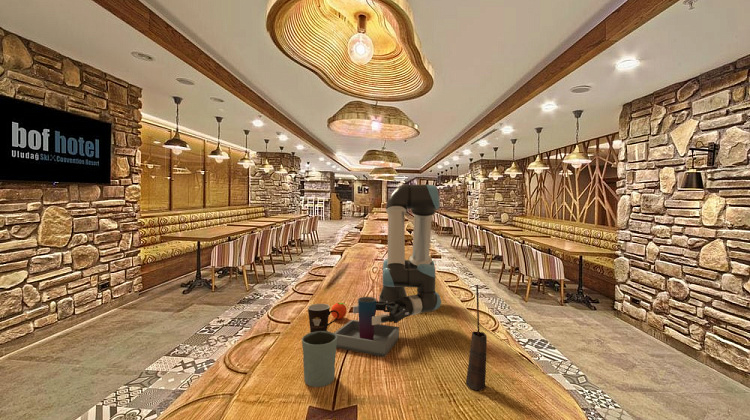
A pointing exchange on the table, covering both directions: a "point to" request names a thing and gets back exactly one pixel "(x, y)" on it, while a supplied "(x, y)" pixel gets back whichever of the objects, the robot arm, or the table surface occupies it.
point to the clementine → (339, 310)
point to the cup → (366, 317)
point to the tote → (378, 346)
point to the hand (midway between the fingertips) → (362, 315)
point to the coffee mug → (319, 317)
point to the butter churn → (477, 357)
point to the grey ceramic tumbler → (319, 358)
